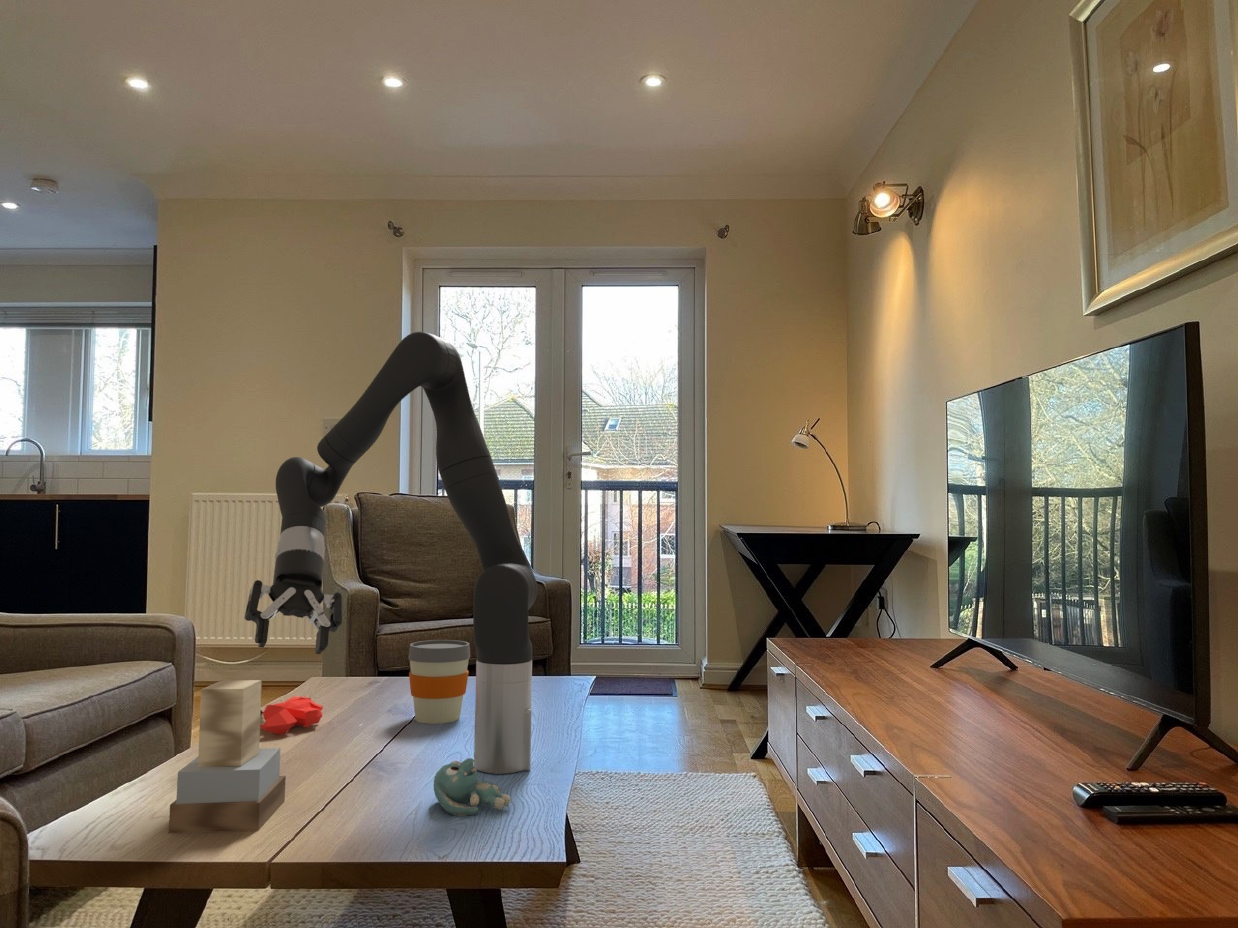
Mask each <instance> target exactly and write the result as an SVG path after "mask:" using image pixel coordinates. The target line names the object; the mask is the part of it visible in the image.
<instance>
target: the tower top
mask: <svg viewBox="0 0 1238 928" xmlns="http://www.w3.org/2000/svg"><path fill="white" fill-rule="evenodd" d="M281 750H282V749H281V747H280V748H279V747H277V748H276V747H275V748H273V747H272V748H271V747H270V748H259V754H257V755H256V756H255V757H253V758H252V759H250V760H249V761H248V762H246V763H245V764H243V765H242V766H226V767H198V756H196V757H195V758H194V759H192V761H190V762H189V763H187V764H186V765H184V766H183V767H182V768H181V769H179V771H177V781H176V782H177V783H176V785H177V786H176V799H175V800H176V804H191V803H218V802H245V801H259V800H260V799H261V798H262V796H263V795H264V794H265V793H266V792H267V791H268V789H269V788H270V787H271V786H272V785H273V784H274V783H275V781H276V780H277V779H278V778H279V776H280V774H281V773H280V770H281V769H280V768H281V767H280V766H281Z"/></svg>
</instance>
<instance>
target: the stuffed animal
mask: <svg viewBox="0 0 1238 928" xmlns="http://www.w3.org/2000/svg"><path fill="white" fill-rule="evenodd" d="M478 777H479V773H478V770H477V769H476V768H475V767H474V758H471V757H470V758H466V759H465V760H463V761H462V762H460V761H458V760H453V761H451V762H450V763H448V764H444V765H443V766H441V767H440V769H438V771H436V773H435V776H434V778H433V791H434V795H435V797H436V800H437V801H438V803H439V804H440V806H441V807H442V808H443V809H444V810H445V812H446V813H448V814H450V815H452V816H458V817H459V816H460V817H465V816H469V815H475V814H479V808H478V805H479V804H480V805H482V806H485V807H486V806H490V807H492V808H494V809H495V810H499V811H501V810H502V809H503V808H504V807H507V806H509V805H510V803H511V796H510V795H508V794H506V793H503V792H502V789H501V788H500V786H498V785H497V784H494V783H493V782H489V781H484V780H478ZM468 801H469V804H470V805H466V803H467V802H468Z"/></svg>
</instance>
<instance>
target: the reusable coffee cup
mask: <svg viewBox="0 0 1238 928" xmlns="http://www.w3.org/2000/svg"><path fill="white" fill-rule="evenodd" d="M408 650H409V651H408V657H407V659H408V660H409V666H410V670H409V672H408V675H409V676H408V677H409V688H410V695H411V696H412V698H413V700H412V701H413V707H414V719H415V721H416V722H418V723H423V724H434V725H436V724H438V725H439V724H448V723H453V722H455V721H456V722H457V721H459V719H460V718H461V714H462V711H461V710H462V705H463V700H464V699H463V698H464V695H465V694H466V693H467V686H468V678H469V670H468V666H469V659H470V658H471V647H470V642H467V641H464V640H458V639H457V640H456V639H455V640H454V639H432V640H431V639H430V640H429V639H428V640H422V641H421V640H420V641H416V642H411V643H410V644H409V649H408Z"/></svg>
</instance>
